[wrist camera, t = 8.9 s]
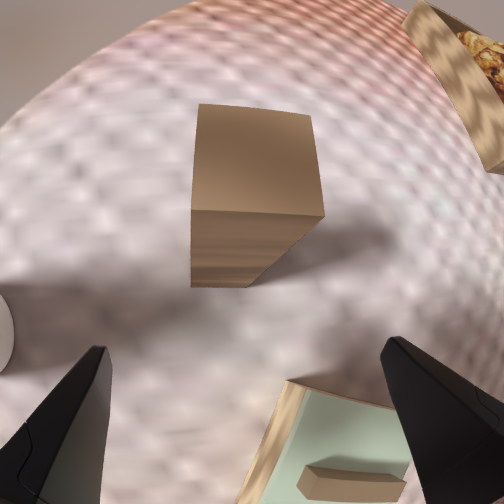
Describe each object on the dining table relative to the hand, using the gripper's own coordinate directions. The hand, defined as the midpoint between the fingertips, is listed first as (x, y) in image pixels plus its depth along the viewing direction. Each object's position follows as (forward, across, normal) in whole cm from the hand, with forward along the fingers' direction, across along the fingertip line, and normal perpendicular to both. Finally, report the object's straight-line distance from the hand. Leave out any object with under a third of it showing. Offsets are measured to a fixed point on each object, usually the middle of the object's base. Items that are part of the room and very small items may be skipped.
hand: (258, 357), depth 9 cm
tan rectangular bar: (+14, 0, +5) cm, 14 cm away
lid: (-1, -7, +13) cm, 15 cm away
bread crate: (+36, -49, -18) cm, 63 cm away
